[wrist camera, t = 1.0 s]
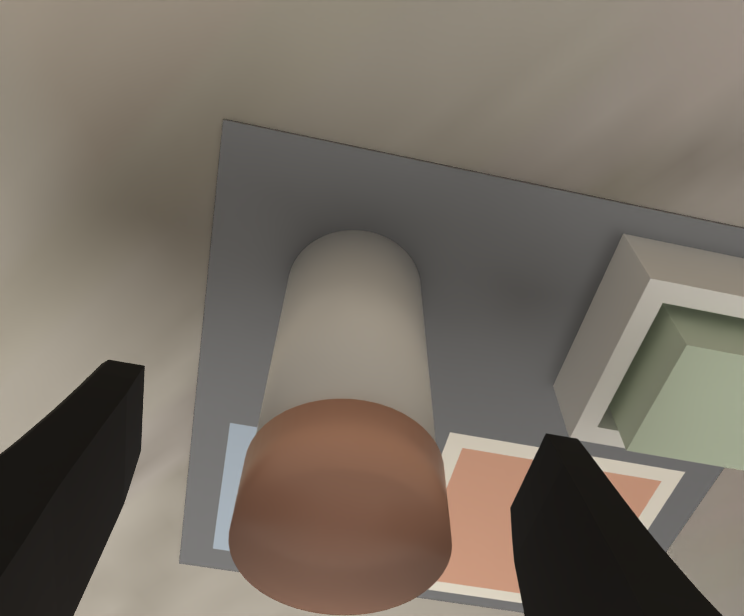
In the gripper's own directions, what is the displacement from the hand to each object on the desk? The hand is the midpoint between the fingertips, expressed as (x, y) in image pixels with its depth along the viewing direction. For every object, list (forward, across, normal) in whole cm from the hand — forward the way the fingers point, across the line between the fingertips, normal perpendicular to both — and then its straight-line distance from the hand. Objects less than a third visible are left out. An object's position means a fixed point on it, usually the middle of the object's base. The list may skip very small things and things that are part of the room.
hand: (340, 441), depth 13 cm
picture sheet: (+5, -4, +4) cm, 8 cm away
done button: (+4, -8, 0) cm, 9 cm away
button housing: (+5, -8, 0) cm, 10 cm away
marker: (+5, 0, 0) cm, 5 cm away
